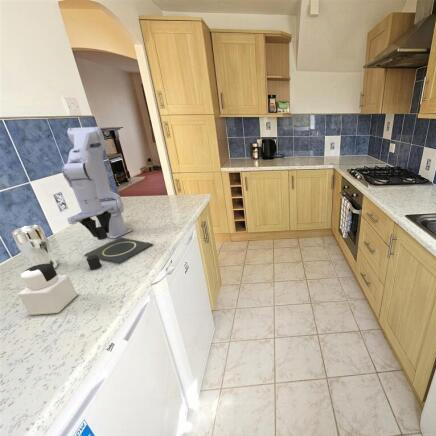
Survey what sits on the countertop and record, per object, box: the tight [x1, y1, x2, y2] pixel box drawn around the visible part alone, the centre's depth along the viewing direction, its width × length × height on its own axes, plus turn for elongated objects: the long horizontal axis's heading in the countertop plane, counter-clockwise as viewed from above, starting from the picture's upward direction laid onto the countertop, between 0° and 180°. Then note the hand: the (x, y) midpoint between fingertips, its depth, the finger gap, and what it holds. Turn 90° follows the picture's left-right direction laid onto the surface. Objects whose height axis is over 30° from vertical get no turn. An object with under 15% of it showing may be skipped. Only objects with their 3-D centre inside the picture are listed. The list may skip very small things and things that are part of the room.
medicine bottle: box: [17, 264, 78, 316], centre depth 64 cm, size 7×7×12 cm
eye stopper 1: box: [85, 255, 102, 271], centre depth 82 cm, size 3×3×4 cm
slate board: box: [84, 237, 154, 265], centre depth 93 cm, size 18×14×1 cm
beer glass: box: [10, 224, 58, 269], centre depth 80 cm, size 7×7×15 cm
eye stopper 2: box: [96, 226, 109, 241], centre depth 87 cm, size 3×3×4 cm
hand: (101, 234), depth 87 cm, fingers closed on eye stopper 2, 3 cm apart
